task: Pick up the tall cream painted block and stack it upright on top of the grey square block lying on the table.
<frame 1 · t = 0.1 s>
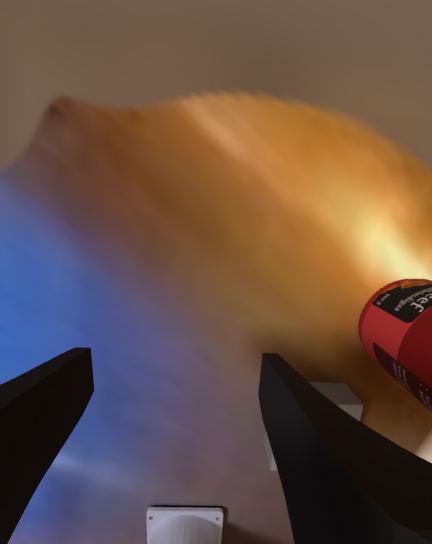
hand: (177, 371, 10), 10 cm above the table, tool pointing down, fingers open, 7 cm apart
canned food: (397, 318, 21), on the table
grey square block: (302, 410, 23), on the table
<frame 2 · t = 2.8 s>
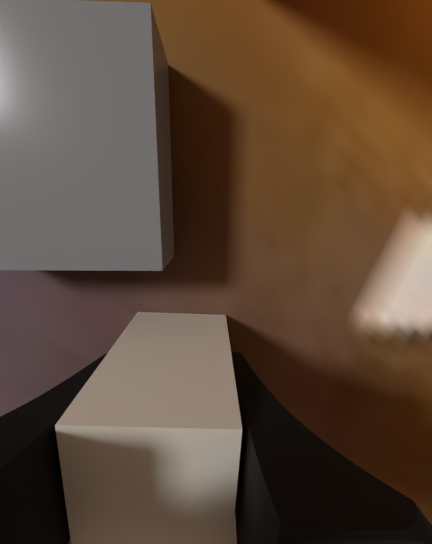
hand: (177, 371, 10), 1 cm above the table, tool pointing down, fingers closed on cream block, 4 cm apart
cream block: (181, 352, 11), on the table, touching gripper
grey square block: (86, 168, 10), on the table
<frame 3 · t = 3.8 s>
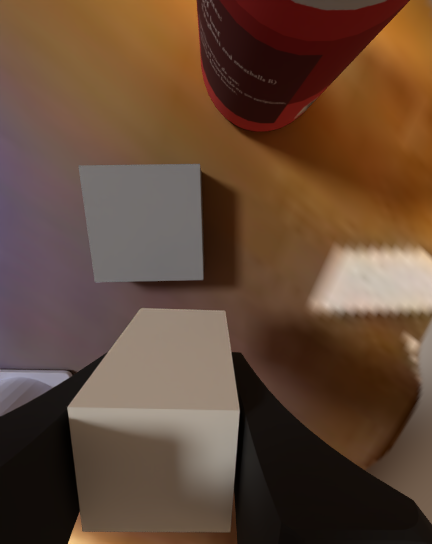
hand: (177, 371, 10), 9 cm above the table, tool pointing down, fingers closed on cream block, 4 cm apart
cream block: (182, 347, 12), point 7 cm above the table, touching gripper
canned food: (261, 68, 15), on the table
grey square block: (155, 224, 18), on the table
when the fingers open (6 cm above the table, at t = 5.1 s): cream block drops 1 cm, resting on grey square block.
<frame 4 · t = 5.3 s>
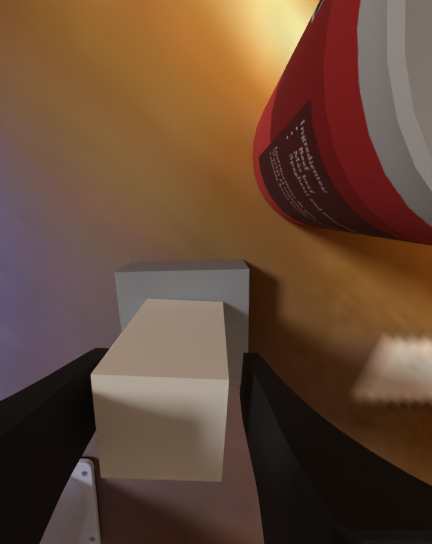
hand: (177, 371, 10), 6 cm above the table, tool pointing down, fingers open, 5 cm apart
cream block: (184, 334, 13), point 3 cm above the table, touching grey square block
canned food: (315, 155, 14), on the table
grey square block: (190, 310, 16), on the table, touching cream block
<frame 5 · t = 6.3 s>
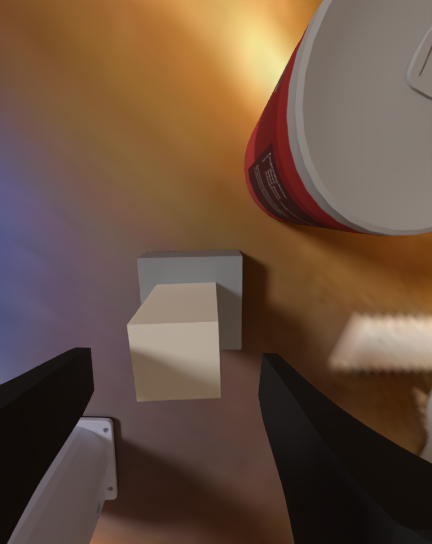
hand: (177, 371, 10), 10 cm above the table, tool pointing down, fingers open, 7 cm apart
cream block: (187, 310, 17), point 3 cm above the table
canned food: (295, 165, 17), on the table
grey square block: (194, 292, 20), on the table
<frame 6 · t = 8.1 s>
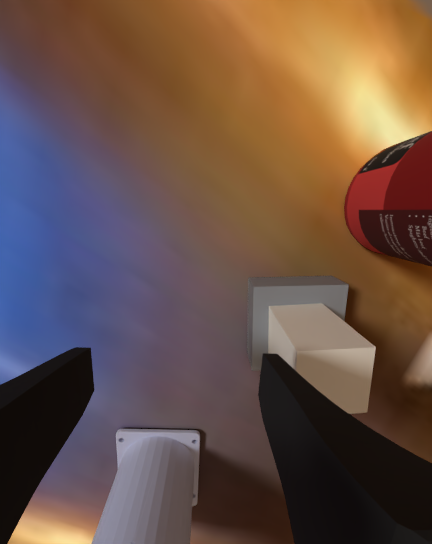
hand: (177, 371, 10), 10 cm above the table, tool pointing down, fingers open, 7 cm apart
cream block: (294, 329, 18), point 3 cm above the table, touching grey square block
canned food: (387, 201, 19), on the table
grey square block: (286, 313, 21), on the table, touching cream block
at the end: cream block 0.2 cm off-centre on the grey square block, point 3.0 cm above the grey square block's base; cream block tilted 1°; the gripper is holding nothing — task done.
